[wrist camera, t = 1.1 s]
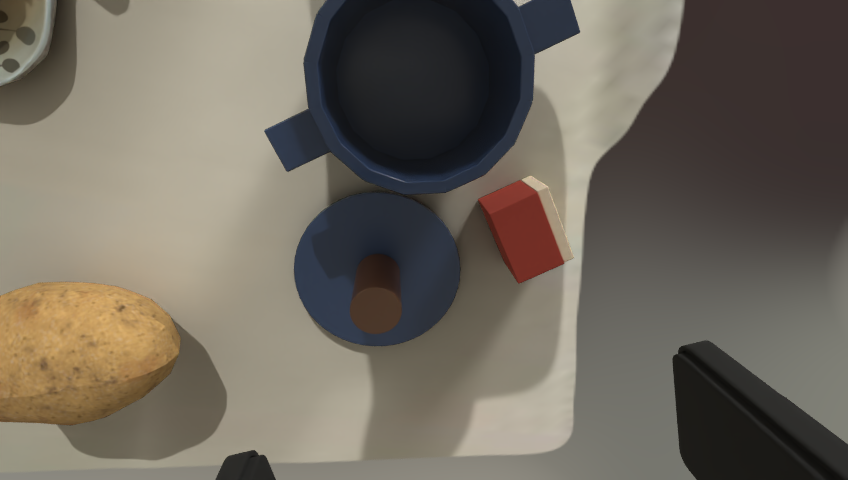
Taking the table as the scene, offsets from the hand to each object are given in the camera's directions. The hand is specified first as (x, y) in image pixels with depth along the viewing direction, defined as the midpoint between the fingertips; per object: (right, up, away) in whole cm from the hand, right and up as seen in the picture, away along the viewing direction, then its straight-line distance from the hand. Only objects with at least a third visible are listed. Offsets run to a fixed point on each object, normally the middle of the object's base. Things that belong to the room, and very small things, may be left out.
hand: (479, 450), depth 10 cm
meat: (+6, +6, +24) cm, 26 cm away
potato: (-25, -1, +25) cm, 35 cm away
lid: (-5, +2, +24) cm, 25 cm away
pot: (-2, +15, +21) cm, 26 cm away
